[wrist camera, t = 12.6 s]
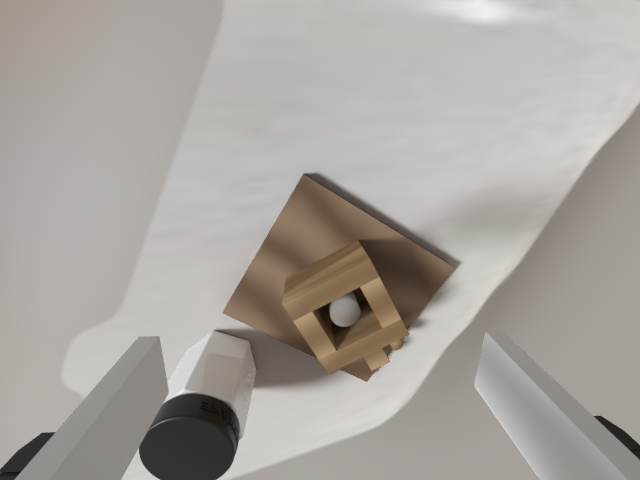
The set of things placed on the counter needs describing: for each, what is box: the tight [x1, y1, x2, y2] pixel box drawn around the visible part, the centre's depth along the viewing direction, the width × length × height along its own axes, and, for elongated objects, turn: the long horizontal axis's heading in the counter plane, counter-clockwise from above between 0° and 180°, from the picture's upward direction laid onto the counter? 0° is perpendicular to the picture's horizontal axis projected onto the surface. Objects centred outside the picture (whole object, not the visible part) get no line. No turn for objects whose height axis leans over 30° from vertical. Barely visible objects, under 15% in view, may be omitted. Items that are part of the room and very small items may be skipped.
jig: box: [223, 174, 454, 382], centre depth 32 cm, size 18×20×6 cm
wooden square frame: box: [282, 240, 409, 374], centre depth 31 cm, size 14×9×6 cm, turn 28°
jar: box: [139, 331, 256, 480], centre depth 31 cm, size 9×8×12 cm
